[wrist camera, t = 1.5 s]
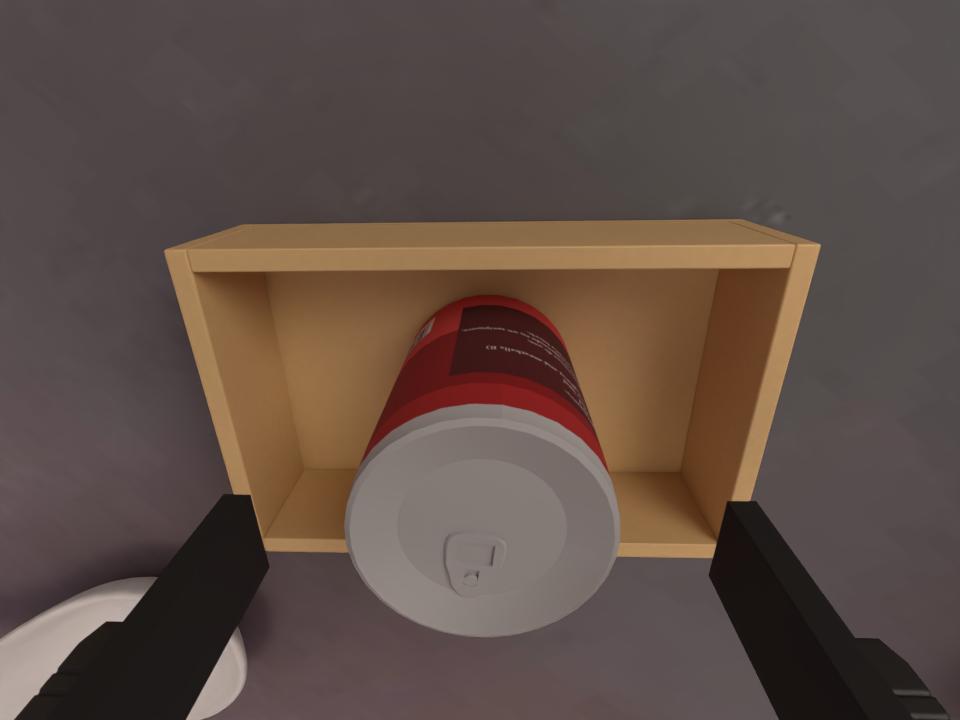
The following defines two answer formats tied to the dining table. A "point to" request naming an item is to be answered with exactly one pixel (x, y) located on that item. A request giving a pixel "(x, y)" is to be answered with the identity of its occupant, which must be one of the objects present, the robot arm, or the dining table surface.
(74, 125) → the dining table surface
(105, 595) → the spoon rest
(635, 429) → the open wooden box
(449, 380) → the canned food
